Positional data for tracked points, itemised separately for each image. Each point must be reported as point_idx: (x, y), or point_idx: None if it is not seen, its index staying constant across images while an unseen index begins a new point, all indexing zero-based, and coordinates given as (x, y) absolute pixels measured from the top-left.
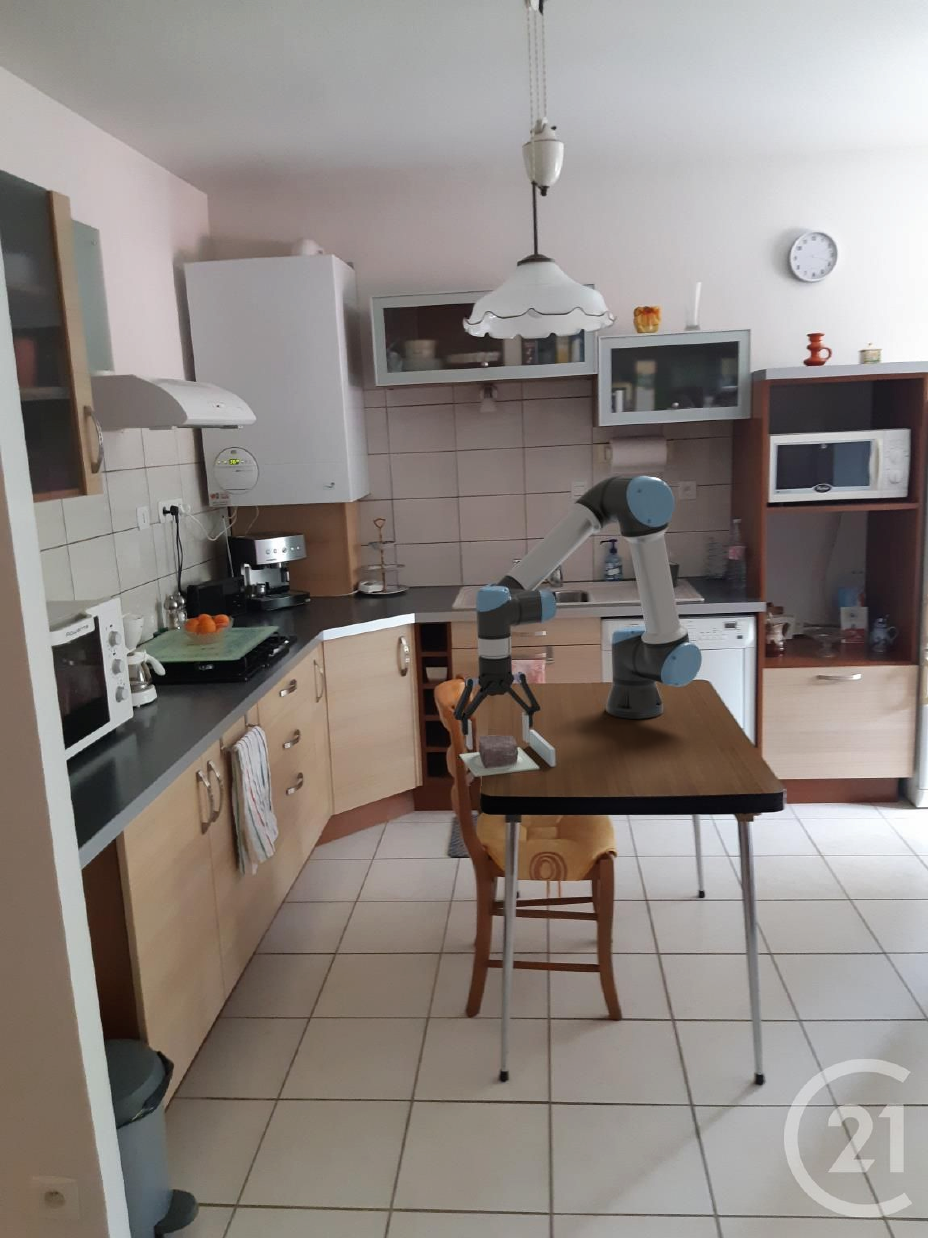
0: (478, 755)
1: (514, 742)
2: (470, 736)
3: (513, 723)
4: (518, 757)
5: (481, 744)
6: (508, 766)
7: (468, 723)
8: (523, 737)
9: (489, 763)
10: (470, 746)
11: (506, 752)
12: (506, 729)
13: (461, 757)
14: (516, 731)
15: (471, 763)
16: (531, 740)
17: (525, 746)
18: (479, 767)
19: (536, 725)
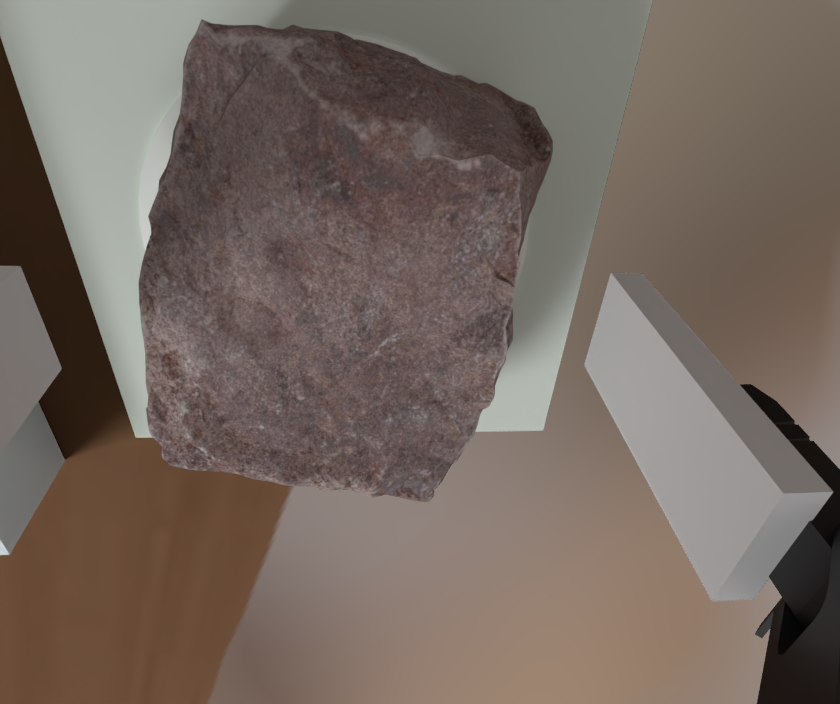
0: None
1: (158, 346)
2: (690, 349)
3: (141, 694)
4: None
5: (508, 323)
6: None
7: (814, 477)
8: (40, 367)
9: (480, 91)
10: (643, 287)
11: (297, 67)
12: (185, 653)
13: (553, 387)
14: (135, 630)
15: (551, 259)
16: (27, 469)
17: (96, 458)
18: None
19: (22, 667)
